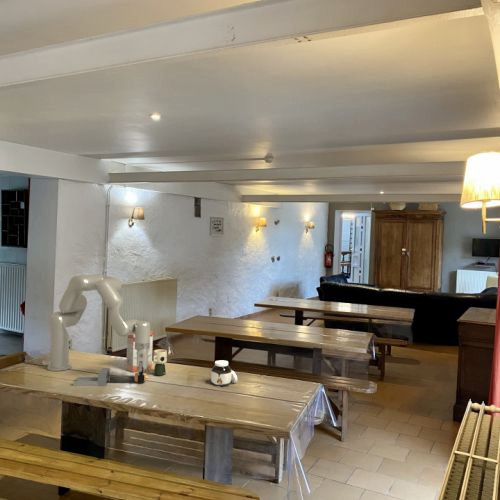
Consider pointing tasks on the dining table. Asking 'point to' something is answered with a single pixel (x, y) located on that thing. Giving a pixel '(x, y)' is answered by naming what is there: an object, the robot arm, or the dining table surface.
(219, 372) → the spread jar
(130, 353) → the cracker box
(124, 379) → the grey and orange rod
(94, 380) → the tunnel block
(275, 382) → the dining table surface
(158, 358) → the character mug
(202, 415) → the dining table surface
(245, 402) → the dining table surface
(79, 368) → the dining table surface
